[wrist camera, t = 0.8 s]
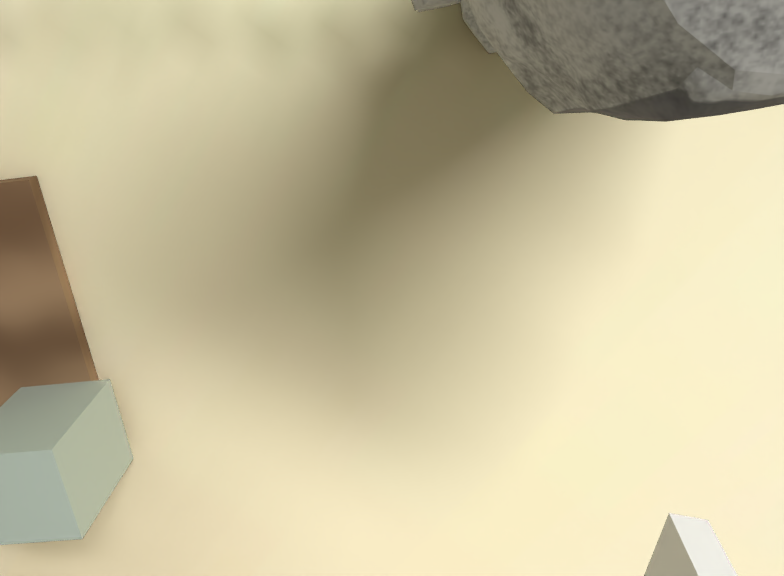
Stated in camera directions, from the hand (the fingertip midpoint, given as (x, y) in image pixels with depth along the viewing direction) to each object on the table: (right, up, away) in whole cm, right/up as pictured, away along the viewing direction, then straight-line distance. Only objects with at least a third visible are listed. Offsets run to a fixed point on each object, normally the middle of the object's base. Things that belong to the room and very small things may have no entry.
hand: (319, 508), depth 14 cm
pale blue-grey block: (-16, -3, +29) cm, 33 cm away
